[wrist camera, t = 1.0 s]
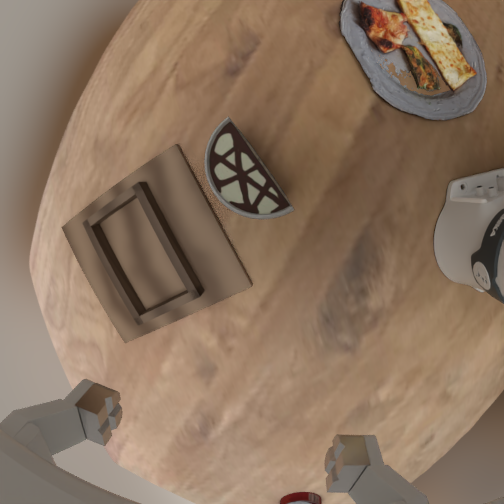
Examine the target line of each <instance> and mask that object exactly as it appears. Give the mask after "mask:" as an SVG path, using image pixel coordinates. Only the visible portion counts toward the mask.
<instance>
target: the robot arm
mask: <svg viewBox="0 0 504 504" xmlns="http://www.w3.org/2000/svg"><path fill="white" fill-rule="evenodd" d="M461 185H462V187H463V188H462V190H461ZM434 251H435V256H436V260H437V263H438V265H439V267H440V269H441V271H442V272H443V273H444V275H445V276H446V277H447V278H449V279H450V280H452V281H454V282H456V283H460V284H466V285H469V286H472V287H473V288H474V289H475V290H477V291H480V292H484V291H485V292H487V293H488V294H490V295H491V296H492V297H494V298H495V299H497V300H499V301H501V302H502V303H503V304H504V168H501V169H496V170H492V171H488V172H484V173H480V174H476V175H472V176H468V177H464V178H459V179H455V180H452V181H451V182H450V183H449V185H448V189H447V196H446V203H445V205H444V208H443V210H442V212H441V214H440V216H439V218H438V221H437V224H436V228H435V234H434ZM120 399H121V398H120V393H119V392H118V391H115V390H113V389H110V388H108V387H105V386H103V385H100V384H98V383H95V382H92V381H90V380H88V379H84V380H82V381H81V382H80V383H79V384H78V385H77V386H76V387H75V388H74V389H73V390H72V392H71V393H70V394H69V395H68V396H67V397H66V398H65V399H64V400H62V399H58V400H55V401H51V402H47V403H43V404H39V405H35V406H31V407H27V408H23V409H18V410H14V411H13V412H12V413H10V414H9V415H8V416H7V417H6V418H5V419H4V420H3V421H2V422H1V423H0V504H140V503H137V502H135V501H132V500H129V499H127V498H124V497H121V496H119V495H116V494H114V493H111V492H109V491H107V490H104V489H102V488H100V487H98V486H95V485H93V484H91V483H89V482H87V481H85V480H82V479H80V478H79V477H77V476H74V475H73V474H71V473H69V472H67V471H65V470H63V469H61V468H60V467H58V466H56V464H55V462H54V460H53V457H52V455H54V454H56V453H59V452H61V451H63V450H65V449H67V448H70V447H72V446H74V445H76V444H78V443H80V442H82V441H84V440H86V439H88V440H91V441H93V442H96V443H98V444H101V445H103V446H105V445H106V444H107V442H108V441H109V439H110V438H111V436H112V433H111V430H113V429H116V428H117V427H118V425H119V424H120V421H121V418H122V407H121V406H120V404H119V403H118V402H119V401H120ZM325 471H326V472H327V473H328V476H327V478H326V487H327V492H340V493H348V494H349V495H350V496H351V498H352V499H353V500H354V501H355V503H356V504H429V502H428V499H427V496H426V495H425V494H423V493H422V492H420V491H419V490H418V489H417V488H416V487H414V486H413V485H412V484H411V483H409V482H408V481H407V480H406V479H404V478H403V477H402V476H401V475H399V474H398V473H397V472H396V471H394V470H393V469H392V468H391V467H390V466H388V465H384V462H383V459H382V455H381V452H380V449H379V445H378V442H377V439H376V436H375V435H336V436H335V437H334V439H333V446H332V447H330V448H329V449H328V451H327V454H326V457H325ZM485 504H504V497H501V498H498V499H495V500H493V501H490V502H488V503H485Z"/></svg>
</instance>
